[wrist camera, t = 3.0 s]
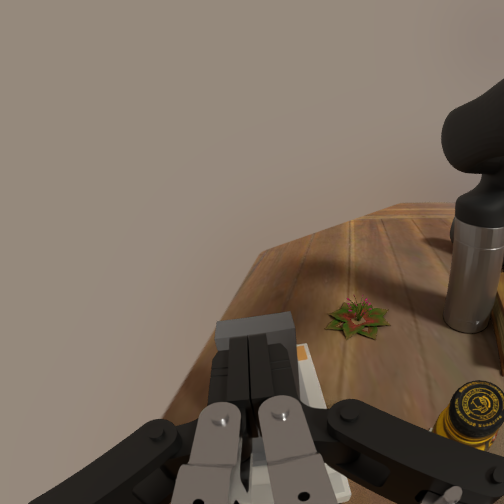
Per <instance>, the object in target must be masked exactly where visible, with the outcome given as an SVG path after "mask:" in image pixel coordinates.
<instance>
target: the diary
mask: <svg viewBox="0 0 504 504" xmlns="http://www.w3.org/2000/svg"><path fill="white" fill-rule="evenodd" d="M491 319H492V323H493V327H494V331H495V336H496V341H497V346H498V351H499V357H500V363H501V369H502V376H504V273H501V274H500V279H499V284H498V288H497V293H496V297H495V301H494V305H493V308H492V312H491Z"/></svg>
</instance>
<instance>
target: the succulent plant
mask: <svg viewBox="0 0 504 504" xmlns="http://www.w3.org/2000/svg"><path fill="white" fill-rule="evenodd" d="M354 297H355V296H354ZM362 297H363V296H362ZM347 299H348V298H347ZM355 299H356V298H355ZM348 300H349V301H351V300H350V299H348ZM366 300H367V299H365V301H366ZM361 301H362V300H361ZM365 301H364V302H365ZM351 302H352V301H351ZM352 303H353V302H352ZM356 303H357V301H356ZM362 303H363V302H362ZM362 303H359V304H357V305H356V304H355V302H354V303H353V304H350V303H345V302H344V304H343V306H342V308H341V309H339V310H336V311H334V312H333V313H329V315H332V316H333V317H335V318H337V319H335V320H333V321H331V322H330V324H329V325H328V326H327V327H326V328H325V329H334V330H344V333H345V335H346V340H347V339H348V338H350V337H351V336H352V335H354V334H356V333H357V332H358V333H360V334H362V335H365V336H367V337H370V338H373V339H375V340H376V334H377V327H376V326H377V325H390V324H389V323H388V322H387V321H385V319H384V318H383V316H384V315H385V314H386V313H387V311H388V310H386V309H380V308H374V309H373V308H372V305H370V304H371V303H369V304H368V301H367V302H366V303H363V304H362ZM354 304H355V305H354ZM352 311H353V312H352ZM360 316H361V317H360ZM354 317H357V321H358V320H361V318H362V317H363V318H364V319H365V320H366V322H364V323H362V324H358V325H355V324H354V323H353V322H352V321H351V318H354ZM342 322H346V323H344V324H343V327H341V326H339V327H336V326H338V325H340V323H342ZM364 325H365V326H368V332H367V331H364V330H362V329H363V328H364ZM390 326H391V325H390Z"/></svg>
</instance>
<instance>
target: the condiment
mask: <svg viewBox="0 0 504 504" xmlns="http://www.w3.org/2000/svg"><path fill="white" fill-rule="evenodd" d="M503 422H504V393H503V391H502V390H501V389H500V388H499V387H498V386H496V385H495V384H492V383H490V382H487V381H480V380H476V381H472V382H468V383H466V384H464V385H463V386H462V387H460V388H459V389H458V390H457V391H456V392H455V394H453V397H452V399H451V401H450V403H449V405H448V406H447V407H446V408H445V409H444V410H443V411H442V412H441V414H440V415H439V417H438V419H437V421H436V423H435V425H434V427H433V429H432V428H430V430H429V431H430V432H433V433H435V434H438V435H441V436H443V437H446V438H448V439H451V440H454V441H457V442H459V443H462V444H465V445H468V446H471V447H474V448H477V449H480V450H483V451H487V450H488V449H489V448H490V446H491V445H492V444H493V442H494V440H495V438H496V436H497V432H498V430H499V428H500V426H501V425H502V423H503Z"/></svg>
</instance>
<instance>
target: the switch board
mask: <svg viewBox="0 0 504 504" xmlns="http://www.w3.org/2000/svg"><path fill="white" fill-rule="evenodd" d="M297 357H298V371H299V386H300V400H301V402H303V403H304V404H305V405H307V406H310V407H313V408H321V409H327V408H326V404H325V401H324V398H323V394H322V391H321V388H320V385H319V381H318V378H317V375H316V372H315V368H314V365H313V362H312V359H311V356H310V352H309V349H308V346H307V343H305V344H299V345H297ZM324 464H325V467H326V470H327V473H328V475H329V478H330V481H331V484H332V487H333V490H334V493H335V496H336V499H337V502H338V503H342V502H346V501H349V499H350V497H351V491H350V488H349V484H348V480H347V477H345V476H344V475H342V474H340V473H339V472H337V471H335V470H334V469H332V468H330V467H329V466H328V465H327V464H326V463H324ZM251 500H252V504H274V500H273V495H272V490H271V484H270V479H269V474H268V468H267V466H257V467H252V486H251Z"/></svg>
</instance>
